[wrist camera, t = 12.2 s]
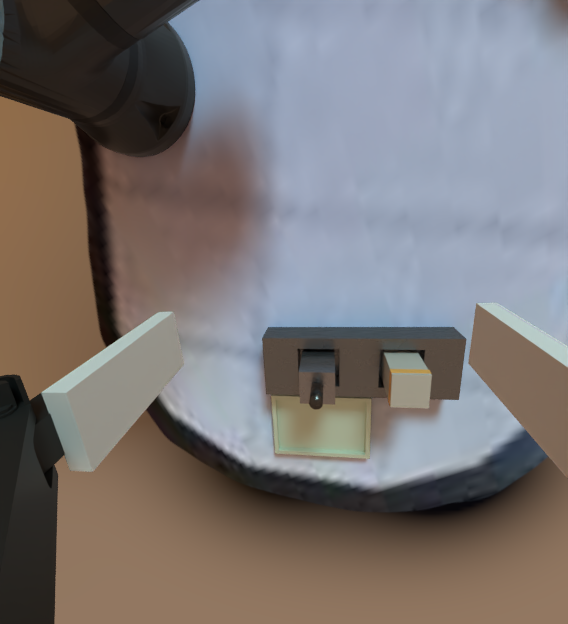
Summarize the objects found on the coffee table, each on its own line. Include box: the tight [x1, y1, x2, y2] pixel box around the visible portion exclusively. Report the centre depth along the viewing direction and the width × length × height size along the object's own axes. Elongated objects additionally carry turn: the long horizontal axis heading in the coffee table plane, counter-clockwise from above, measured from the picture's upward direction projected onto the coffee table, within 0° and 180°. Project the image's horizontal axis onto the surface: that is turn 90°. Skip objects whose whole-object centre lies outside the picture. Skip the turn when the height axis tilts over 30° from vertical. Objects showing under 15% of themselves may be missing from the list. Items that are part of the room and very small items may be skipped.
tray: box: [271, 394, 371, 459], centre depth 47 cm, size 14×10×1 cm
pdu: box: [262, 327, 466, 410], centre depth 38 cm, size 24×8×12 cm, turn 93°
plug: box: [380, 350, 432, 409], centre depth 38 cm, size 4×4×8 cm
